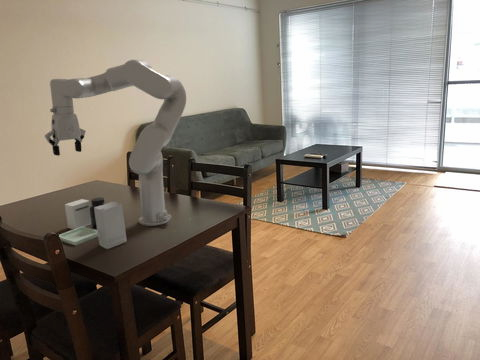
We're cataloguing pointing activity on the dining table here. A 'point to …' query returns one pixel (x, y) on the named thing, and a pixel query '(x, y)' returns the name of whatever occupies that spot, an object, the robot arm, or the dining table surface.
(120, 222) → the skincare box
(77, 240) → the tray
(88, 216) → the unit
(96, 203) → the supplement bottle
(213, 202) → the dining table surface
